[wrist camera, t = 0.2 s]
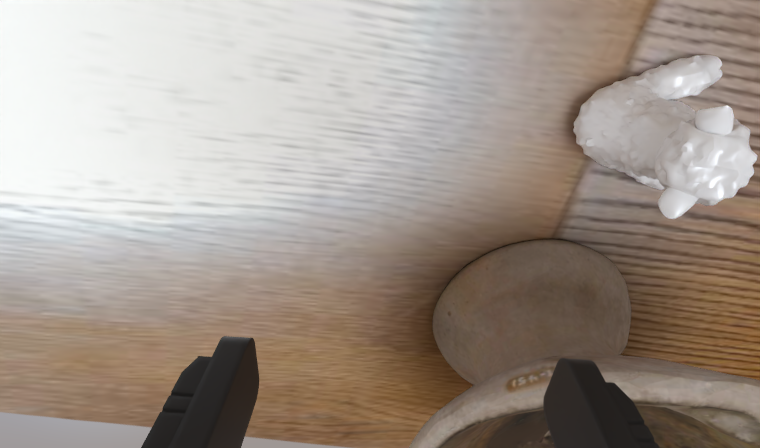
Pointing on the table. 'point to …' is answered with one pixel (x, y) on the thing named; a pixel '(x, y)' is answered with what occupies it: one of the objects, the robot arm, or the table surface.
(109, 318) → the table surface
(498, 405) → the bowl
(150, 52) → the table surface
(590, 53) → the table surface
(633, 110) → the seated beast figurine
